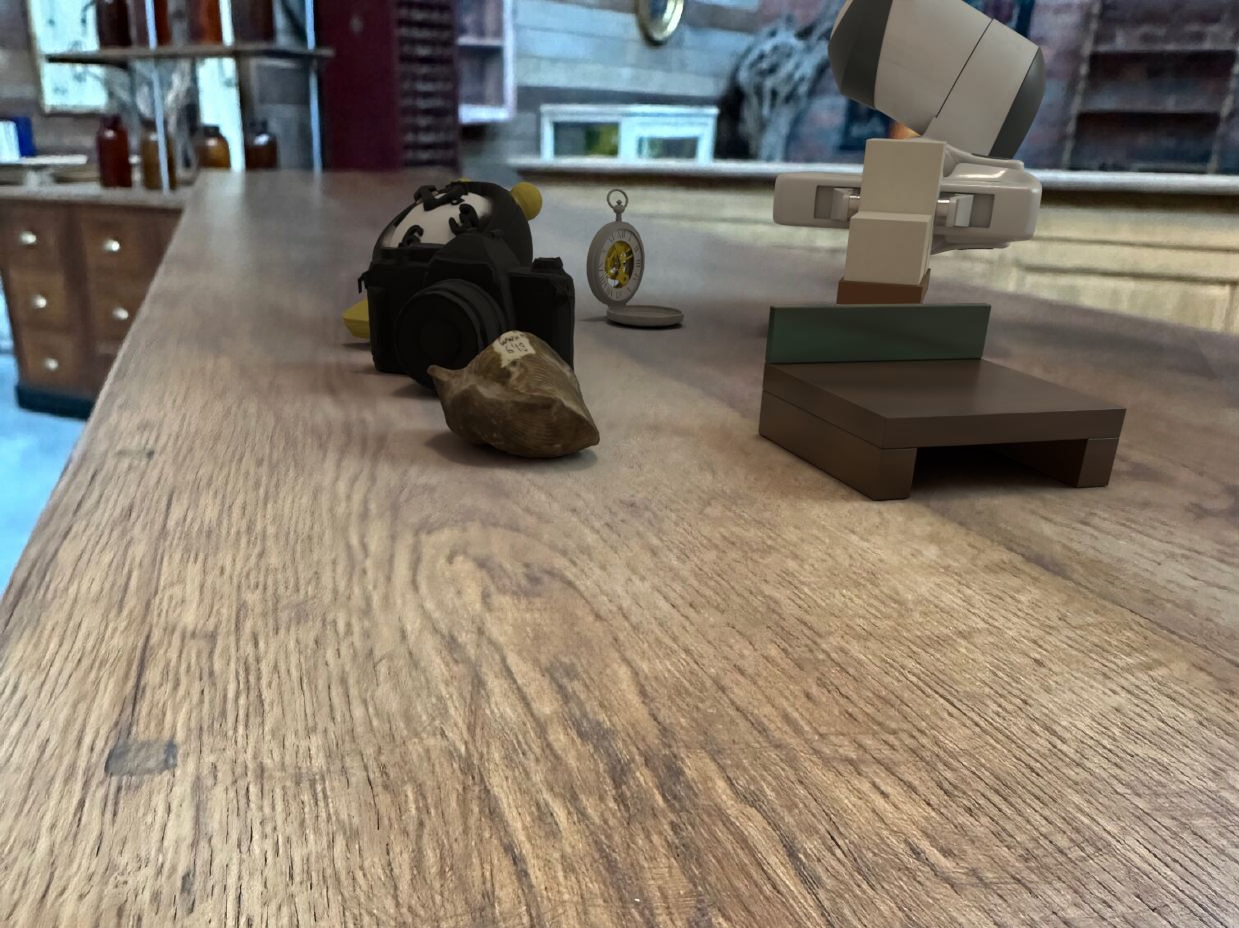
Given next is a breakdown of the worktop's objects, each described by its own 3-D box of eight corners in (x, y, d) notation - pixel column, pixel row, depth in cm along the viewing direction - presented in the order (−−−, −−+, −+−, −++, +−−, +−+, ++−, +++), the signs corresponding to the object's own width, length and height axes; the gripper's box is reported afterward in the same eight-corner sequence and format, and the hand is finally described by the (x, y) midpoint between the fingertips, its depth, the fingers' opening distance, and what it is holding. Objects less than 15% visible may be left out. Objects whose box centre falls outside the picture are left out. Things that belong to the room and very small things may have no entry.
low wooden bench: (757, 433, 71) (769, 304, 68) (962, 424, 76) (984, 302, 72) (874, 500, 60) (896, 351, 57) (1108, 485, 64) (1143, 345, 61)
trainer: (852, 284, 95) (870, 138, 90) (927, 289, 94) (949, 141, 89) (835, 304, 86) (854, 141, 81) (919, 309, 85) (943, 145, 79)
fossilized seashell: (390, 391, 66) (485, 464, 60) (451, 278, 64) (555, 343, 58) (487, 447, 72) (582, 519, 66) (546, 345, 70) (649, 410, 64)
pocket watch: (678, 331, 101) (686, 196, 96) (579, 325, 102) (581, 191, 97) (689, 317, 108) (697, 190, 103) (596, 311, 109) (599, 185, 104)
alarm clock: (356, 377, 99) (358, 183, 97) (536, 387, 100) (541, 196, 99) (335, 333, 87) (337, 112, 85) (540, 345, 88) (545, 128, 87)
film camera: (319, 385, 78) (306, 230, 73) (387, 360, 86) (379, 218, 81) (541, 409, 74) (542, 248, 70) (591, 381, 82) (594, 234, 78)
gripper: (788, 150, 101) (761, 155, 90) (1044, 161, 97) (1049, 168, 85) (781, 234, 104) (754, 249, 93) (1027, 248, 100) (1031, 266, 89)
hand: (898, 210), depth 89 cm, fingers closed on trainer, 5 cm apart
